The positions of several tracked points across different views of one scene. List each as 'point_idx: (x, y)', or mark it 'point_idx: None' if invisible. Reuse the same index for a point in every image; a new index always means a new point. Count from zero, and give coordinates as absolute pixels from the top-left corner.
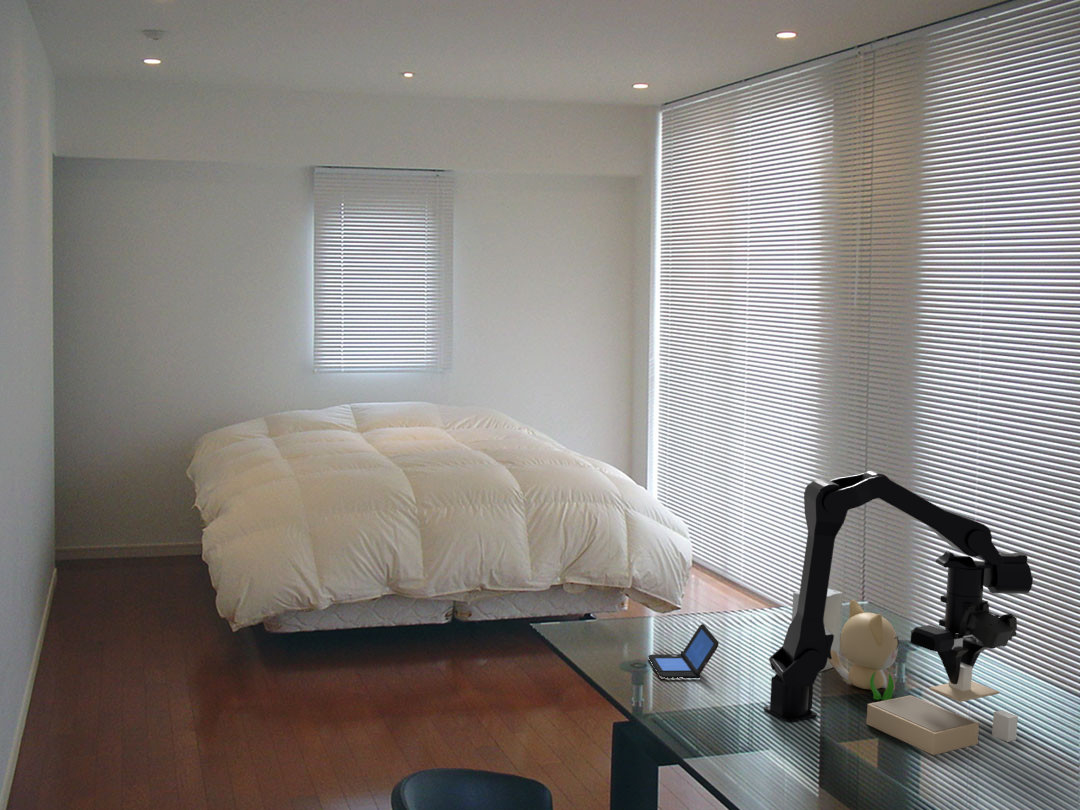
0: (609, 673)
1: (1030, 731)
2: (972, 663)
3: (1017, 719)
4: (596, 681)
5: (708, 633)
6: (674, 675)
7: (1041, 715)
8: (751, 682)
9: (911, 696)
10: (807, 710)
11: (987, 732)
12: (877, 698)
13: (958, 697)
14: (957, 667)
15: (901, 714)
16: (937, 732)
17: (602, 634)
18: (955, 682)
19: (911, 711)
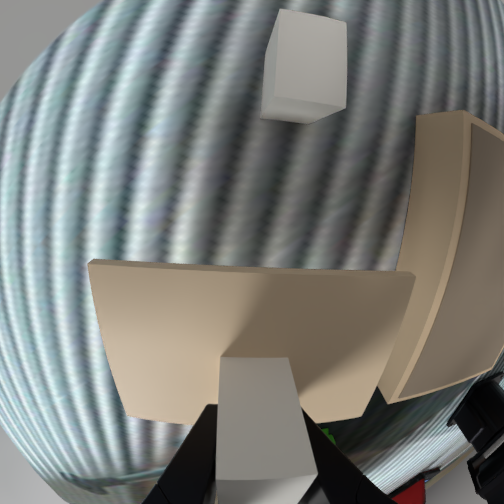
0: (444, 472)
1: (133, 84)
2: (182, 494)
3: (277, 16)
4: (464, 458)
5: None
6: (434, 473)
7: (4, 187)
8: (394, 475)
9: (402, 394)
10: (481, 393)
11: (297, 151)
12: (332, 436)
13: (396, 301)
14: (348, 477)
15: None
16: None
17: None
18: (302, 410)
19: (501, 301)
